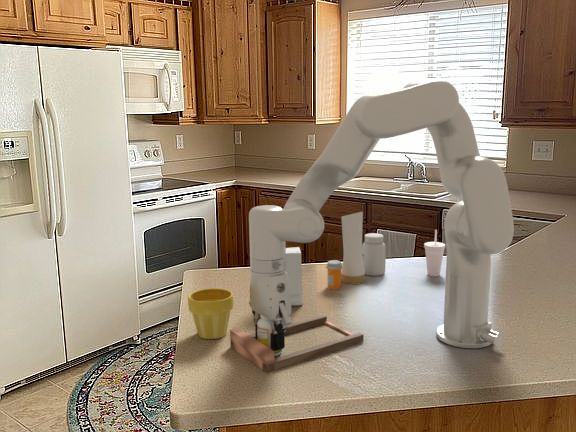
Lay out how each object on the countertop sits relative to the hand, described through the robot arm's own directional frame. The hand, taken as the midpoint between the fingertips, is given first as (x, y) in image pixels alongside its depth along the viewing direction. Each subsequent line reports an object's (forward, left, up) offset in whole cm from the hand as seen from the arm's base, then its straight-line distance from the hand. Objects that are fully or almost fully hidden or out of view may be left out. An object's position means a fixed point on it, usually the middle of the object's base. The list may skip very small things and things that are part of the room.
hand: (269, 343), depth 125 cm
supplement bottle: (0, 0, -2) cm, 2 cm away
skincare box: (+24, -20, -2) cm, 31 cm away
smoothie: (+18, -71, -2) cm, 74 cm away
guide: (0, -7, -2) cm, 8 cm away
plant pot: (+17, +6, -2) cm, 18 cm away
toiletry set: (+28, -49, -2) cm, 57 cm away
